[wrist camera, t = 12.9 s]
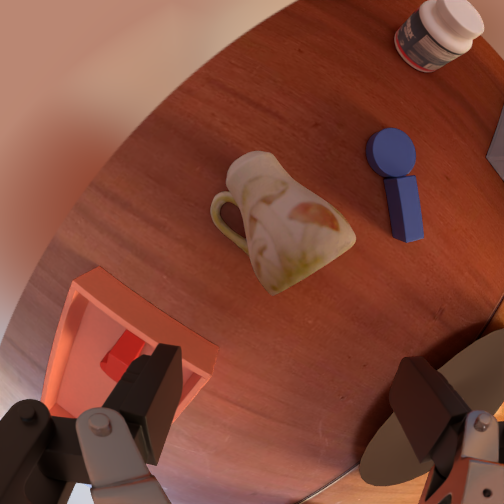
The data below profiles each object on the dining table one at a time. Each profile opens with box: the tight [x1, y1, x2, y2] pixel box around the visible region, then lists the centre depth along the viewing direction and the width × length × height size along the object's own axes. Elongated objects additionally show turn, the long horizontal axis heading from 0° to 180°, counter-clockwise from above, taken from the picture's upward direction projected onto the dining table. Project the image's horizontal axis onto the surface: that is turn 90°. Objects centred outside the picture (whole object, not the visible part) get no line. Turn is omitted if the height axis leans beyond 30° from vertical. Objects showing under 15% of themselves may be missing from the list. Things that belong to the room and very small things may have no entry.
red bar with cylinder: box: [100, 329, 145, 383], centre depth 22 cm, size 9×4×3 cm, turn 146°
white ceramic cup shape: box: [210, 151, 356, 296], centre depth 20 cm, size 8×10×10 cm
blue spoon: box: [366, 128, 424, 243], centre depth 20 cm, size 9×4×3 cm, turn 13°
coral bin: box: [41, 266, 219, 423], centre depth 24 cm, size 23×13×4 cm, turn 146°
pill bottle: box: [394, 0, 484, 72], centre depth 14 cm, size 5×5×9 cm
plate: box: [359, 328, 504, 486], centre depth 25 cm, size 28×28×4 cm
